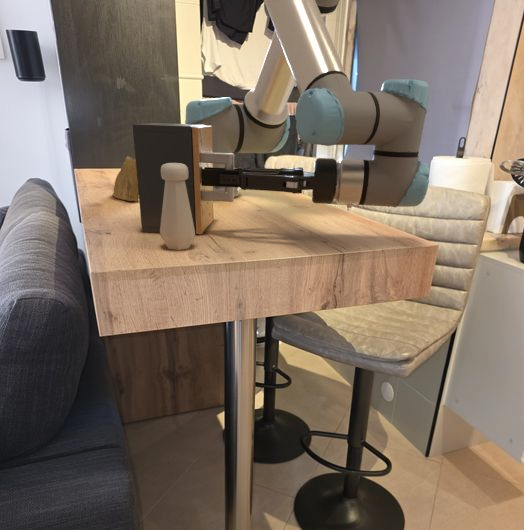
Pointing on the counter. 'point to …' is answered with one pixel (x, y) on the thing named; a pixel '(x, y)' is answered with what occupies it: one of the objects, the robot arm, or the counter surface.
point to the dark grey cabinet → (149, 166)
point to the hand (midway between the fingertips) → (203, 176)
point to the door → (201, 160)
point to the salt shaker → (176, 208)
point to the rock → (127, 181)
